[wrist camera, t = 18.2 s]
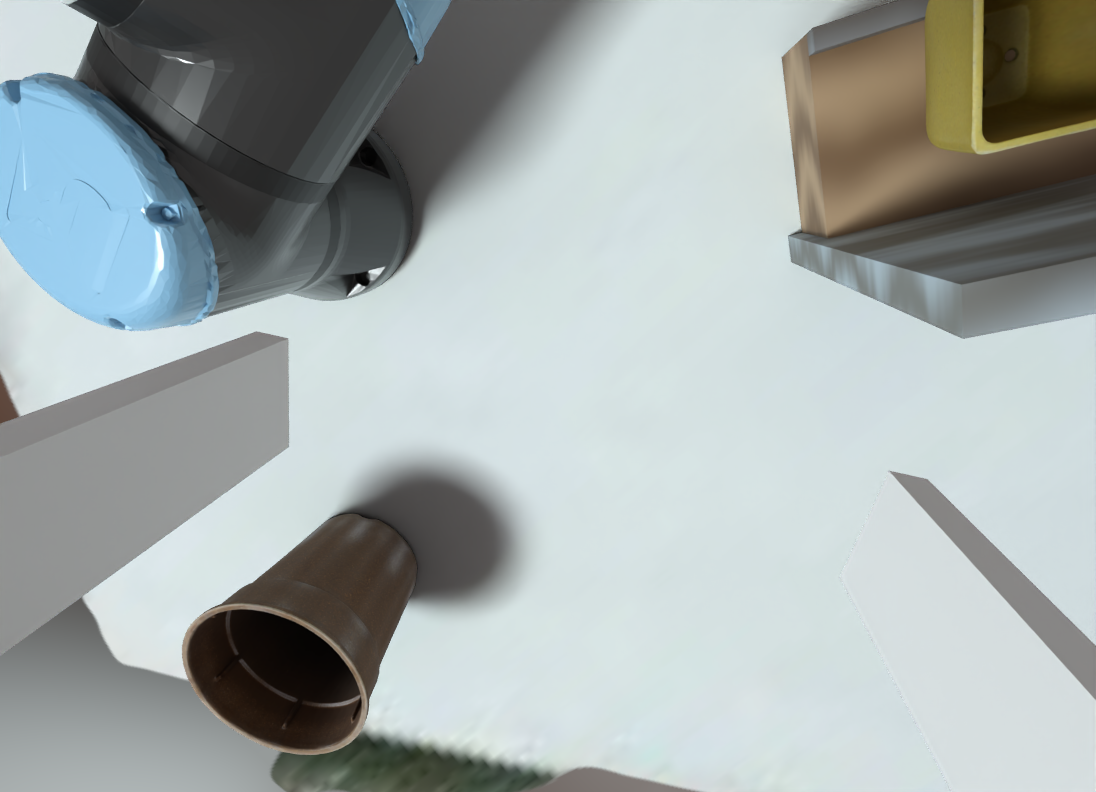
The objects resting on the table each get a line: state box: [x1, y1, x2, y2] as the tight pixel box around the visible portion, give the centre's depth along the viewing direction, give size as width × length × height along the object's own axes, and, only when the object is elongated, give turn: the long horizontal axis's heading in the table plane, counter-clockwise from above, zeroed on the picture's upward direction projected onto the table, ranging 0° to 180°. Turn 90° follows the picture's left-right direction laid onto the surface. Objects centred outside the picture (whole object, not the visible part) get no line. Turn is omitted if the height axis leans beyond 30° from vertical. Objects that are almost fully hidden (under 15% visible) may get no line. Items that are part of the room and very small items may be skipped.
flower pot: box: [925, 0, 1096, 155], centre depth 27 cm, size 9×9×9 cm
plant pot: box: [182, 514, 417, 755], centre depth 52 cm, size 16×16×16 cm
